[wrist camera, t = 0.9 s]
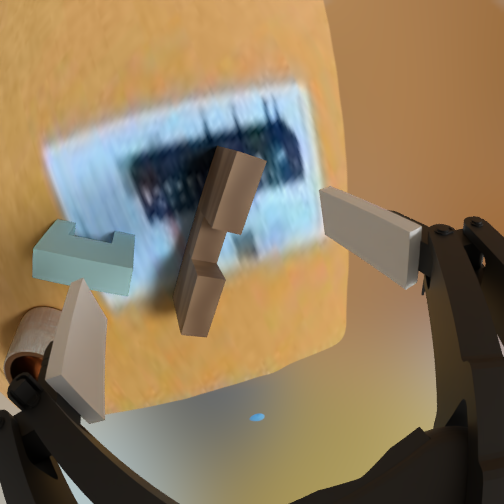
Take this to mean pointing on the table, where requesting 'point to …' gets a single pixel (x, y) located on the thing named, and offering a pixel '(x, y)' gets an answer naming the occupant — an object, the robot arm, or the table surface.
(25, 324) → the planter
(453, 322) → the robot arm
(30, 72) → the table surface
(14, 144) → the table surface
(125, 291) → the light blue piece
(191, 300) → the walnut fin
